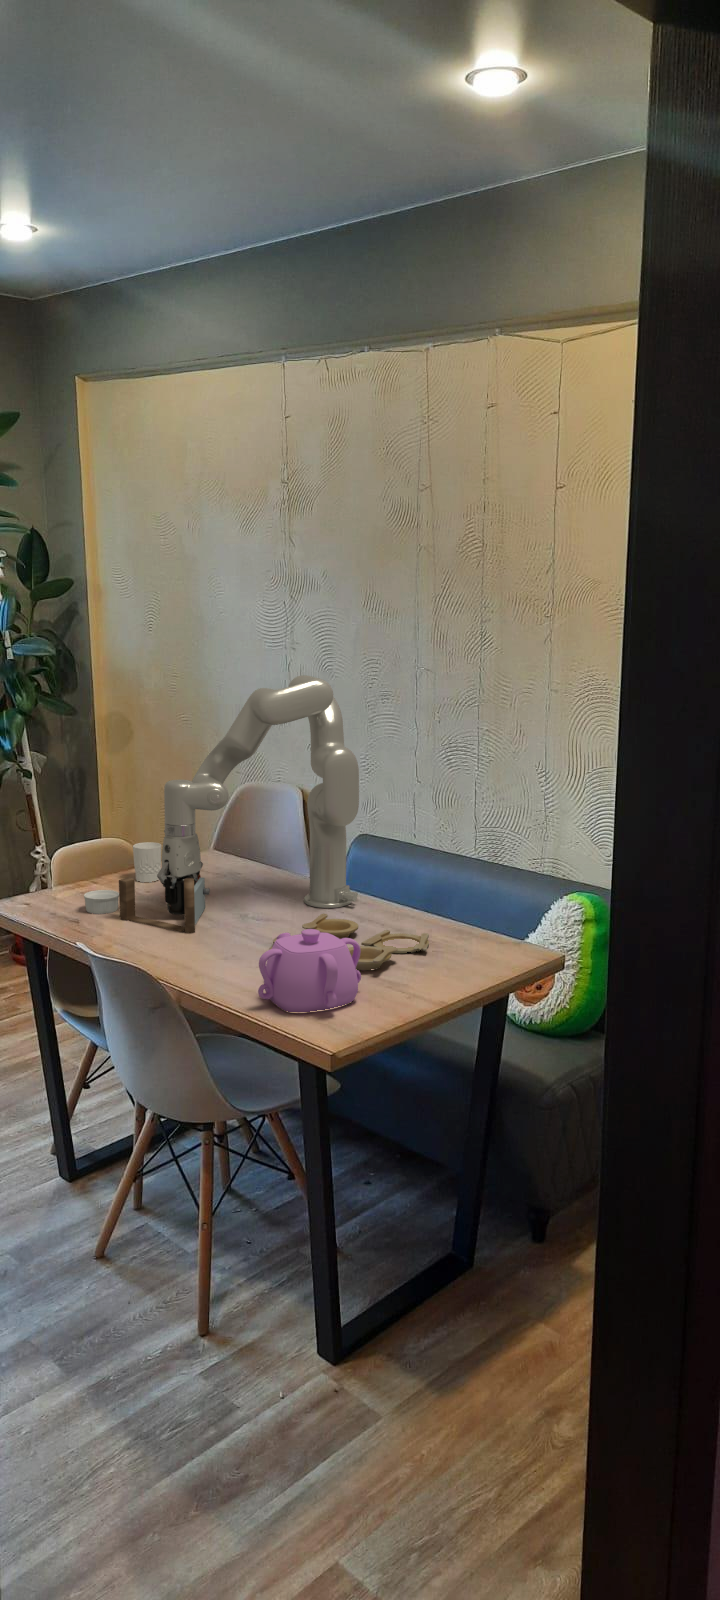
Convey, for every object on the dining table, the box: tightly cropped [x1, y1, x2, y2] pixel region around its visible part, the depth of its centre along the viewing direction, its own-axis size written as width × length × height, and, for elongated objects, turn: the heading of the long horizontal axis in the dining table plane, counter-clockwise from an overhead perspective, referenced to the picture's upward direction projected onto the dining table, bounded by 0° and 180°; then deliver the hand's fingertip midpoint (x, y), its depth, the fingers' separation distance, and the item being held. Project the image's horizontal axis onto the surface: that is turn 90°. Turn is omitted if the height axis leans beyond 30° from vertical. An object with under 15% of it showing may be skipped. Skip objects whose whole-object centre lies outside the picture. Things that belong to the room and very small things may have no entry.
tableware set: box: [268, 913, 430, 971], centre depth 256 cm, size 35×29×4 cm
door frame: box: [118, 877, 196, 934], centre depth 272 cm, size 23×3×13 cm, turn 58°
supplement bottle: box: [166, 875, 194, 916], centre depth 279 cm, size 7×7×12 cm
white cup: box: [132, 841, 162, 883], centre depth 315 cm, size 8×8×10 cm
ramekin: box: [83, 889, 119, 915], centre depth 285 cm, size 9×9×4 cm
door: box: [194, 877, 211, 925], centre depth 277 cm, size 17×3×8 cm, turn 178°
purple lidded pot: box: [257, 929, 362, 1013], centre depth 224 cm, size 19×21×14 cm
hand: (180, 899), depth 279 cm, fingers closed on supplement bottle, 6 cm apart
